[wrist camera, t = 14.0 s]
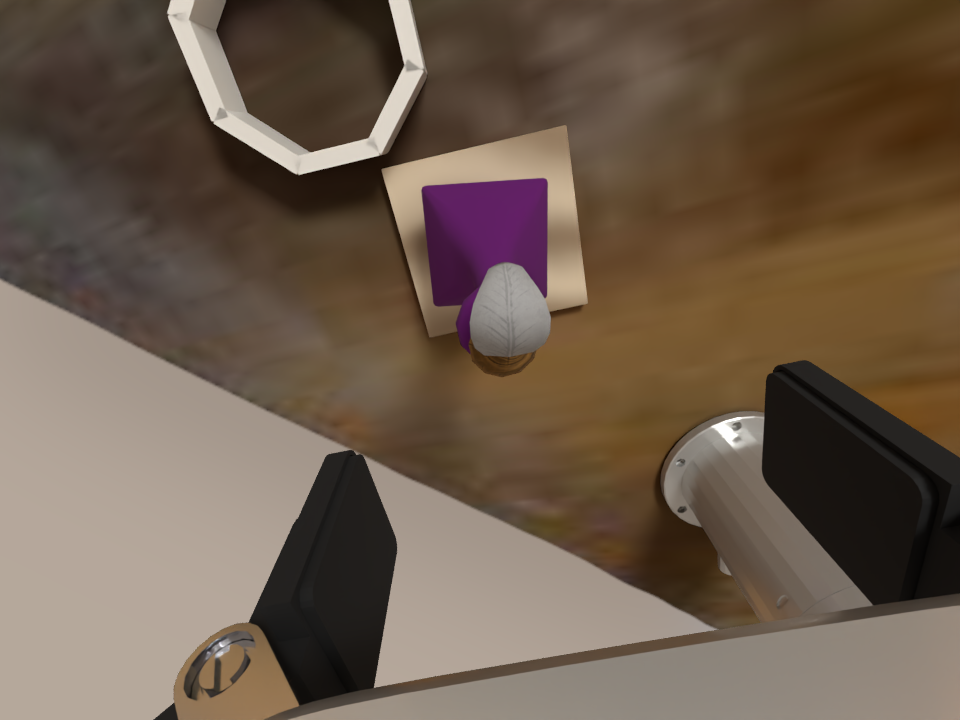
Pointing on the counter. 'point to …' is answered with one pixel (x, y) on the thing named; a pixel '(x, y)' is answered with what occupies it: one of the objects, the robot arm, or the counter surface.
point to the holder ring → (195, 30)
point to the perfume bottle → (491, 266)
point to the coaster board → (487, 163)
